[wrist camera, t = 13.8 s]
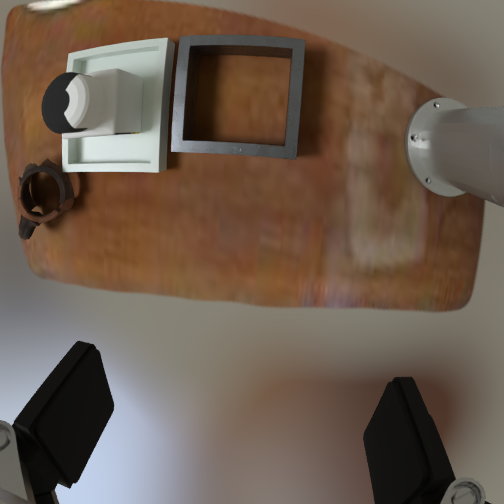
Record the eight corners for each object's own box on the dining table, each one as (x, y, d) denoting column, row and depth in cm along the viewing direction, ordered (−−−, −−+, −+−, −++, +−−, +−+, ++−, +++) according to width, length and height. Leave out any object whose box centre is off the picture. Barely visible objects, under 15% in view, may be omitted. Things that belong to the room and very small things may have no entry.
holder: (302, 50, 31) (305, 39, 27) (293, 156, 35) (295, 159, 31) (190, 46, 31) (179, 36, 27) (183, 149, 36) (171, 151, 32)
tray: (175, 43, 31) (167, 37, 29) (166, 169, 37) (158, 172, 34) (80, 56, 32) (68, 53, 29) (74, 169, 38) (62, 172, 35)
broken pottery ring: (34, 150, 37) (22, 150, 30) (86, 170, 42) (83, 174, 35) (10, 224, 39) (-4, 238, 32) (61, 243, 44) (54, 260, 37)
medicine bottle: (93, 136, 35) (32, 143, 24) (95, 83, 33) (35, 73, 21) (142, 133, 35) (88, 136, 24) (144, 77, 32) (93, 58, 21)
